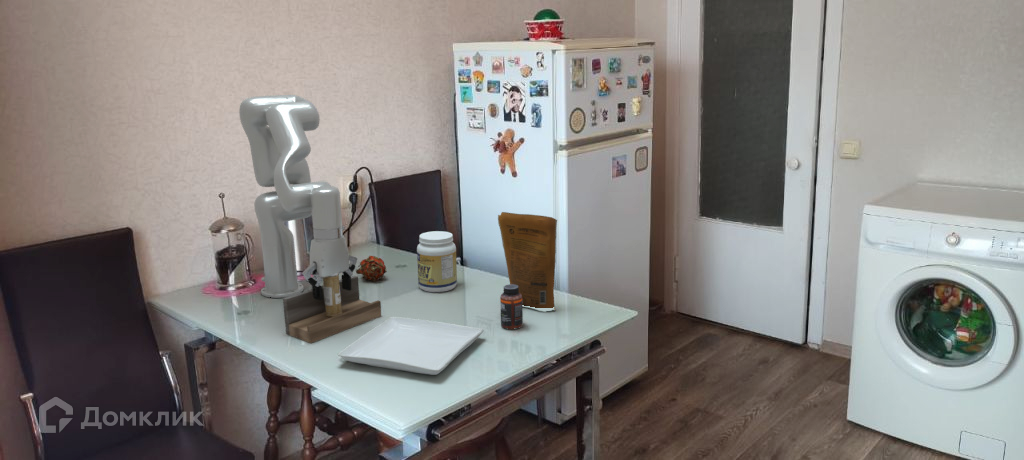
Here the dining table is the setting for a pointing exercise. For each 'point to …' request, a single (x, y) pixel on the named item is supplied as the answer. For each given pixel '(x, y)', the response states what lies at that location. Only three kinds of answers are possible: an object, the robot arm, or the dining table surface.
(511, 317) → the supplement bottle
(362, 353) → the square plate
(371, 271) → the dragon fruit
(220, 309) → the dining table surface
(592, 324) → the dining table surface
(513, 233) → the pancake mix bag
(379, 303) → the spice rack
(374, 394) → the dining table surface
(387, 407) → the dining table surface
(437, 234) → the supplement tub
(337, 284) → the sprinkles bottle
